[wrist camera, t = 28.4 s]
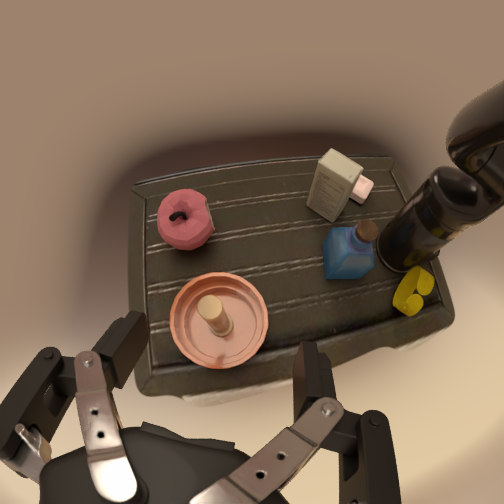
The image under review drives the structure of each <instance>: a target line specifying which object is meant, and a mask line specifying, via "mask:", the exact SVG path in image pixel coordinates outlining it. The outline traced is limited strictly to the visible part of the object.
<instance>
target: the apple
mask: <svg viewBox="0 0 504 504" xmlns="http://www.w3.org/2000/svg"><path fill="white" fill-rule="evenodd" d="M157 223H158V231H159V233H160V235H161V237H162V238H163V239H164V241H165V242H166V243H168V244H170V245H171V246H173V247H175V248H177V249H179V250H193V249H195V248H197V247H200V246H202V245H203V244H204V243H205V242H206V241H207V240H208V238H209V237H210V236H211V235H212V233H213V231H214V230H215V227H213V222H212V218H211V215H210V210H209V207H208V204H207V199H206V197H205V196H204V195H202V194H200V193H198V192H196V191H194V190H192V189H181V190H178V191H175V192H171V193H170V194H169V195H168V196H167V197H166V198H165V199H163V201H162V203H161V205H160V207H159V210H158V218H157Z"/></svg>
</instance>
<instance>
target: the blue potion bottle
mask: <svg viewBox="0 0 504 504" xmlns="http://www.w3.org/2000/svg"><path fill="white" fill-rule="evenodd" d="M377 235H378V229H377V227H376V225H375V224H374V223H373V222H372V221H370V220H367V219H363V220H361V221H359V222H358V224H356V225H355V226H354V228H351V227H340V228H332V229H331V231H330V232H329V234H328V236H327V238H326V239H325V241H324V243H323V244H322V246H323V257H324V269H325V279H360V278H361V277H362V276H363V275H365V274H366V273H367V272H368V271H369V270H371V269H372V268H373V267H374V257H373V249H372V243H373V242H374V240H375V238H376V237H377Z"/></svg>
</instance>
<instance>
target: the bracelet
mask: <svg viewBox="0 0 504 504" xmlns="http://www.w3.org/2000/svg"><path fill="white" fill-rule="evenodd" d="M433 286H434V277H433V276H432V275H431V274H430V273H428V272H426V270H425V269H422V268H421V267H420V266H419V265H416V266H414V267H413V268H411V269H410V270H409V271H408V272H407V274H406V275H405V276H404V278H403V279H402V281H401V282H400V284H399V286H398V288H397V290H396V292H395V294H394V297H393V306H394V307H396V308H397V309H398V310H399V311H401V312H402V313H404V314H405V315H407V316H413V315H415V314H416V313H417V312H418V311H419V310H420V309H421V308H422V306H423V299H422V297H421V296H420V295H419V294H421V295H427V294H429V293H430V292H431V291H432V289H433ZM416 288H417V291H418V292H419V294H412V293H413V292H414V290H415V289H416Z"/></svg>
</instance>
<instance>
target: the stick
mask: <svg viewBox="0 0 504 504" xmlns="http://www.w3.org/2000/svg"><path fill="white" fill-rule="evenodd" d="M197 310H198V313H199V314H200V316H201V317H202V318H203V319H204V320H205V321H206V322H207V323H208V327H209V329H210V331H211V332H212V333H213V334H214V335H215V336H218V337H225V336H227V335H229V334H230V333H231V331H232V330H233V321H232V319H231V317H230V316H229V315H228V314H227V313H225V310H224V308H223V305H222V302H221V301H220V299H219V298H218V297H216V296H214V295H206V296H204V297H202V298H201V299H200V300H199V302H198V305H197Z"/></svg>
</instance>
